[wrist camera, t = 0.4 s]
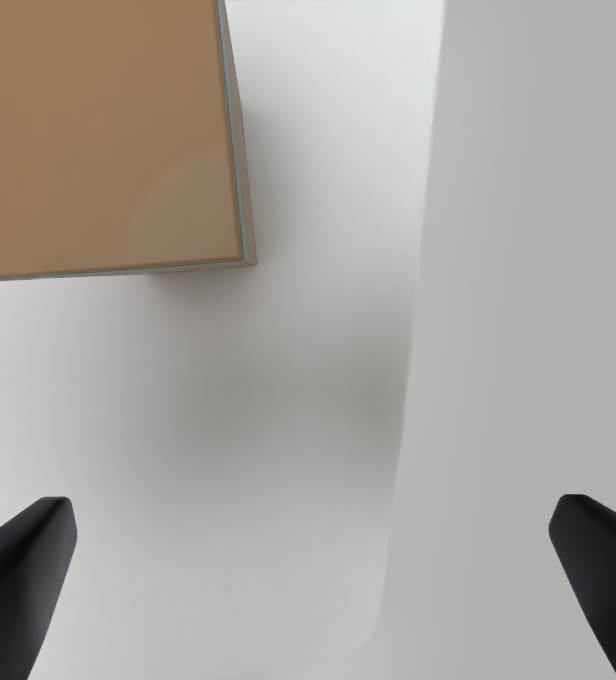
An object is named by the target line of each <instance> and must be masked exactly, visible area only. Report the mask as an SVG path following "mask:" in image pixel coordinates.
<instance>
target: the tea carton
mask: <svg viewBox="0 0 616 680" xmlns="http://www.w3.org/2000/svg"><path fill="white" fill-rule="evenodd" d="M256 264H257V262H256V252H255V242H254V232H253V222H252V212H251V202H250V192H249V182H248V172H247V161H246V151H245V141H244V131H243V121H242V111H241V102H240V96H239V89H238V83H237V77H236V70H235V64H234V58H233V51H232V45H231V39H230V32H229V26H228V20H227V13H226V7H225V1H224V0H0V281H11V280H30V279H43V278H63V277H88V276H114V275H140V274H156V273H169V272H181V271H194V270H206V269H218V268H231V267H243V266H255V265H256Z"/></svg>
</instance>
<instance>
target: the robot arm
mask: <svg viewBox="0 0 616 680" xmlns="http://www.w3.org/2000/svg"><path fill="white" fill-rule="evenodd" d="M549 536H550V539H551V542H552V544H553V546H554V548H555V550H556V553H557V555H558V557H559V559H560V562H561V563H562V566H563V568H564V570H565V573H566V575H567V577H568V579H569V582H570V584H571V586H572V588H573V591H574V592H575V595H576V597H577V599H578V602H579V604H580V606H581V608H582V610H583V612H584V615H585V617H586V619H587V621H588V623H589V625H590V627H591V628H592V630H593V632H594V634H595V636H596V638H597V640H598V642H599V643H600V645H601V647H602V649H603V651H604V652H605V654H606V656H607V658H608V660H609V661H610V663H611V665H612V667H613V669H614V670H615V672H616V512H614V511H613V510H611V509H609V508H608V507H606V506H604V505H603V504H601V503H599V502H597V501H596V500H594V499H592V498H591V497H589V496H586V495H582V494H570V495H569V494H566V495H563V496H562V497H561V498H560V499H559V501H558V504H557V506H556V509H555V511H554V514H553V516H552V518H551V521H550V523H549ZM76 542H77V528H76V523H75V518H74V513H73V508H72V503H71V501H70V499H69V498H68V497H43V498H41V499H39V500H37V501H36V502H34V503H33V504H32V505H30V506H29V507H27V508H26V509H25V510H23V511H22V512H20V513H19V514H18V515H16V516H15V517H13V518H12V519H11V520H9V521H8V522H6V523H5V524H4V525H2V526H1V527H0V680H27V679H28V677H29V674H30V672H31V670H32V668H33V665H34V663H35V661H36V658H37V656H38V654H39V651H40V649H41V646H42V644H43V641H44V639H45V636H46V633H47V630H48V627H49V625H50V622H51V619H52V615H53V612H54V609H55V606H56V603H57V600H58V597H59V594H60V591H61V588H62V585H63V582H64V579H65V576H66V573H67V570H68V567H69V564H70V561H71V558H72V555H73V552H74V549H75V546H76Z"/></svg>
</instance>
